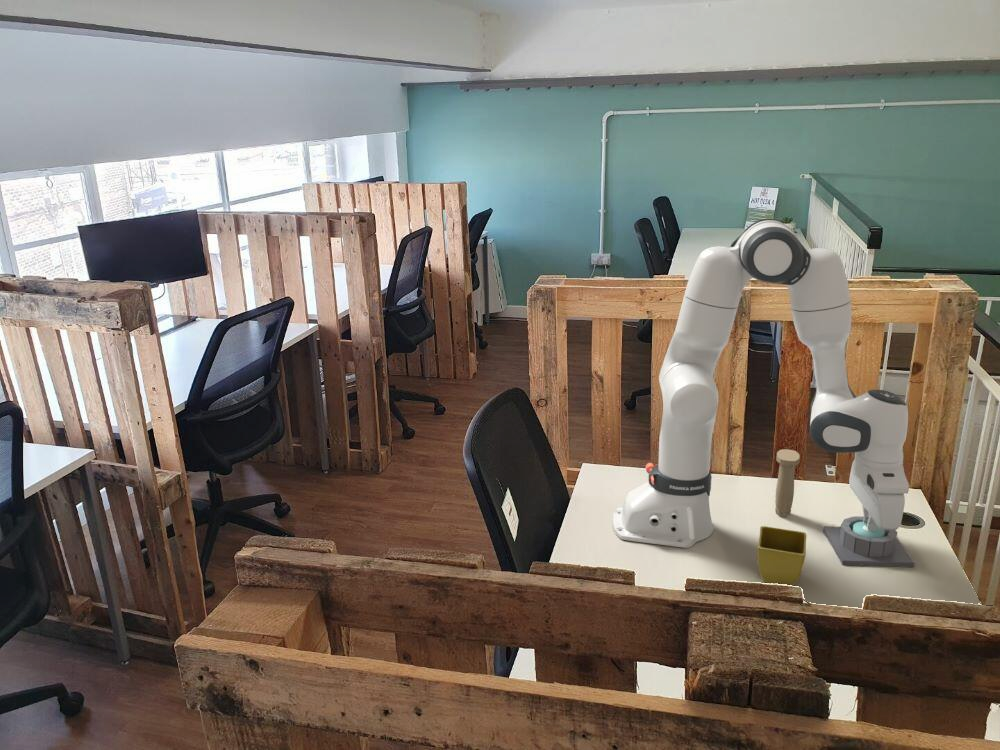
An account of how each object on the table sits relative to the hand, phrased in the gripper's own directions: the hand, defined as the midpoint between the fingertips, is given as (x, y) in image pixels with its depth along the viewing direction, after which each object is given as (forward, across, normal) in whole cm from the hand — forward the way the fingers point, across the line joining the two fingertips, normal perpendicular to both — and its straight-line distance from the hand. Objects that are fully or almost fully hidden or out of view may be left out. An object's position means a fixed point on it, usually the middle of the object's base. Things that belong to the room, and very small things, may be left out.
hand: (869, 527), depth 163 cm
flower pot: (+5, +13, -21) cm, 25 cm away
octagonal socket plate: (+5, 0, 0) cm, 5 cm away
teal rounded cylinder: (+4, 0, 0) cm, 4 cm away
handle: (+5, -14, -14) cm, 21 cm away
